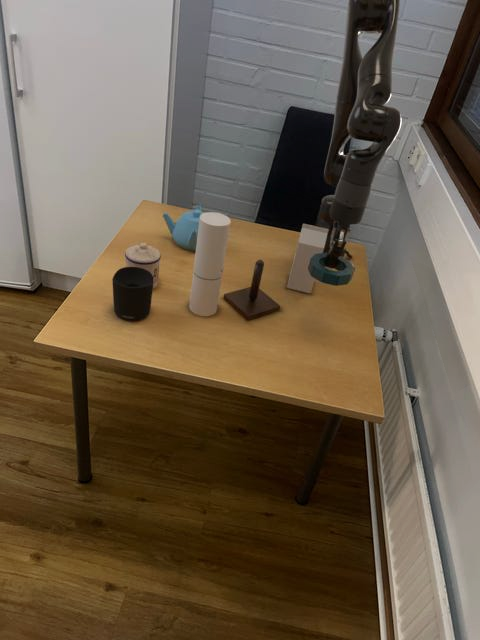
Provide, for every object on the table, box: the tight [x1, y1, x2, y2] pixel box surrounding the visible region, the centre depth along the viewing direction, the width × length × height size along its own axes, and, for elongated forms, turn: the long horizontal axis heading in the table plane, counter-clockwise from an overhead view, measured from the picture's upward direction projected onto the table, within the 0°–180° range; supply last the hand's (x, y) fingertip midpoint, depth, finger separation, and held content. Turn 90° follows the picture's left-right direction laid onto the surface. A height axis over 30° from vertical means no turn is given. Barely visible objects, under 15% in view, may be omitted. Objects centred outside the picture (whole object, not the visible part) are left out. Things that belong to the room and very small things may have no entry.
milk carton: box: [286, 223, 328, 294], centre depth 133 cm, size 7×7×19 cm
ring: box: [308, 253, 356, 287], centre depth 112 cm, size 11×11×3 cm
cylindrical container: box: [189, 211, 232, 317], centre depth 114 cm, size 7×7×25 cm
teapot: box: [162, 205, 204, 252], centre depth 146 cm, size 15×15×11 cm
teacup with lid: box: [124, 242, 162, 290], centre depth 124 cm, size 12×9×12 cm
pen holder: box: [111, 266, 154, 322], centre depth 112 cm, size 9×9×10 cm
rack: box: [223, 259, 281, 322], centre depth 122 cm, size 11×11×14 cm
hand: (330, 264), depth 116 cm, fingers closed on ring, 2 cm apart
